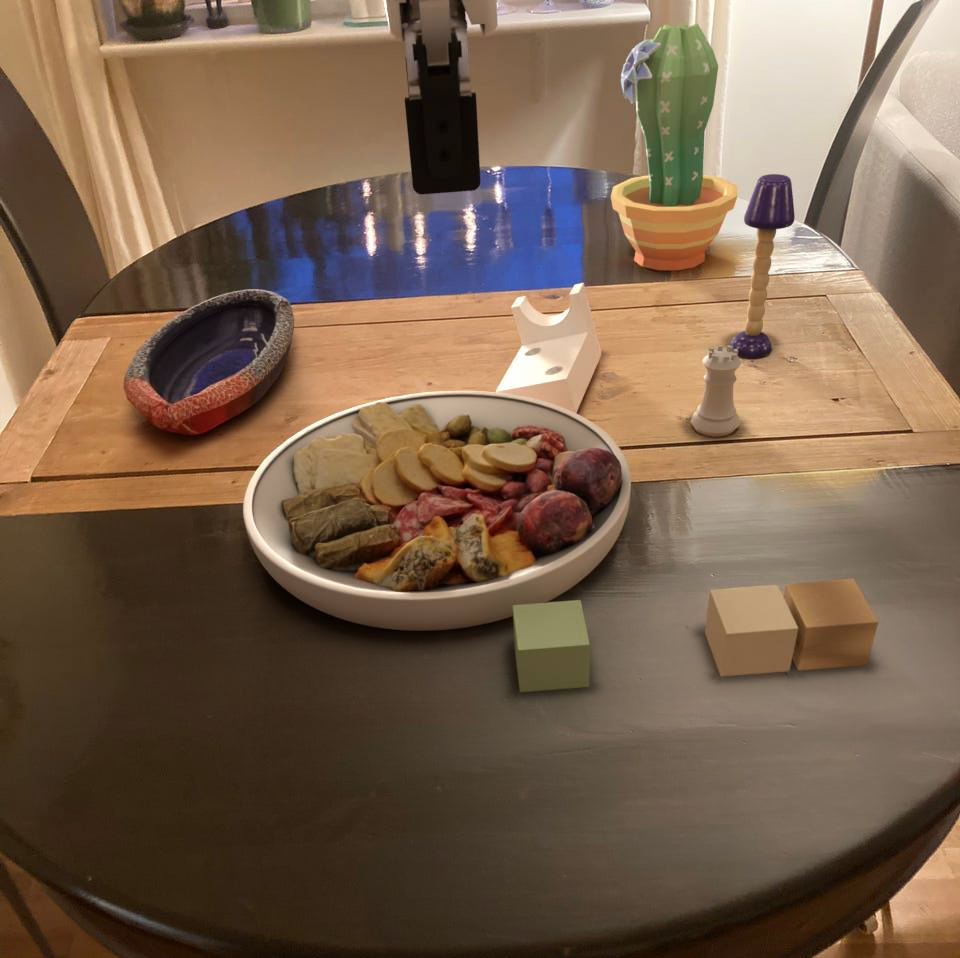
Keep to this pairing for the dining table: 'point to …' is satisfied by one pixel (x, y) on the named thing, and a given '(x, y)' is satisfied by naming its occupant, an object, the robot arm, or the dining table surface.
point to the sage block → (551, 646)
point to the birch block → (830, 624)
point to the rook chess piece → (718, 394)
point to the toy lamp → (763, 256)
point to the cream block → (750, 630)
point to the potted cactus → (672, 151)
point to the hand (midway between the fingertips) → (444, 162)
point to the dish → (211, 361)
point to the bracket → (554, 353)
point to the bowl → (438, 508)
